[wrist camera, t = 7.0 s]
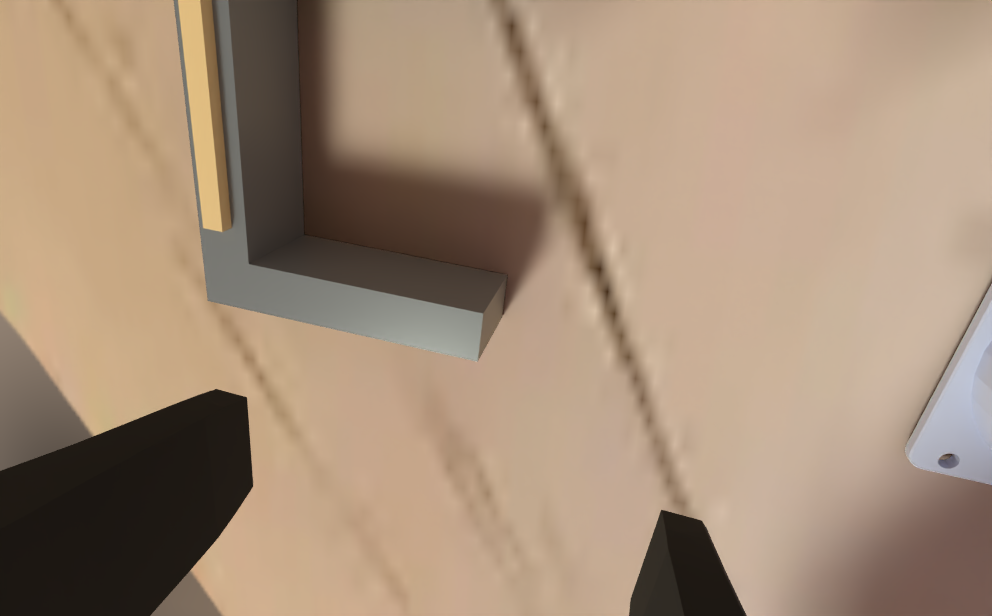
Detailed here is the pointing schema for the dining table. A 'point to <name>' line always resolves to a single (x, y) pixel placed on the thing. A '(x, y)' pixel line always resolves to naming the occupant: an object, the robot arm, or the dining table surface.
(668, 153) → the dining table surface
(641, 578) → the robot arm
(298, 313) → the socket panel
